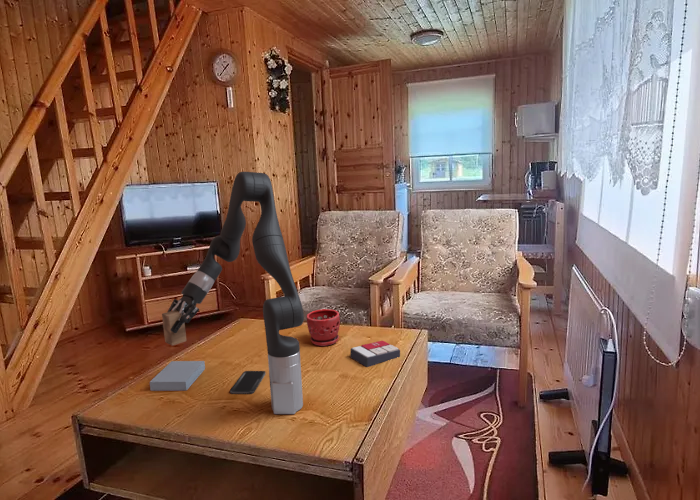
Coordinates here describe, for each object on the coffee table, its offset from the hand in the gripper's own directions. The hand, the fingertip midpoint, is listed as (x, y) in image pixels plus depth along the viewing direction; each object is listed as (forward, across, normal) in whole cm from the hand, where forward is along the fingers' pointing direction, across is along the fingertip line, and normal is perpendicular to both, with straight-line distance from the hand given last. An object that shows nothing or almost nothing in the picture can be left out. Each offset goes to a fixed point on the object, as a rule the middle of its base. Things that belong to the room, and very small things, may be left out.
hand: (169, 329), depth 150 cm
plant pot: (-26, +16, +52) cm, 60 cm away
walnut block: (+2, 0, +5) cm, 5 cm away
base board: (+12, 0, +14) cm, 18 cm away
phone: (+3, +22, +24) cm, 32 cm away
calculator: (-27, +42, +53) cm, 73 cm away
